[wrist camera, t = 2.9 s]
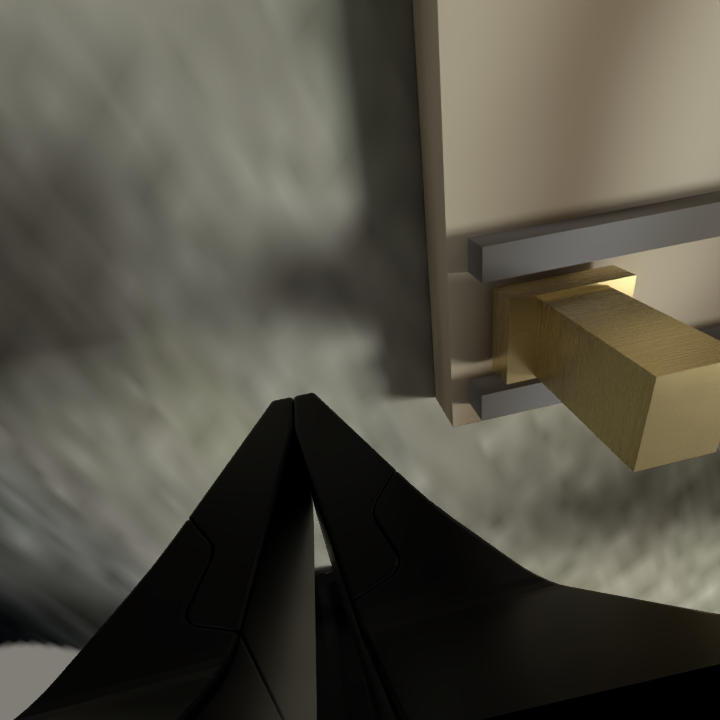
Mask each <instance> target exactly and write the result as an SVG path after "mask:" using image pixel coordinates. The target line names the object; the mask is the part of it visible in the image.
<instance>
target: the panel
mask: <svg viewBox="0 0 720 720" xmlns="http://www.w3.org/2000/svg"><path fill="white" fill-rule="evenodd" d="M412 1H413V18H414V35H415V52H416V69H417V86H418V102H419V119H420V136H421V153H422V170H423V187H424V204H425V221H426V237H427V254H428V271H429V288H430V305H431V322H432V339H433V355H434V372H435V389H436V399H437V401H438V402H439V404H440V406H441V407H442V409H443V411H444V413H445V414H446V416H447V418H448V419H449V421H450V423H451V424H452V426H453V427H457V426H461V425H465V424H470V423H474V422H479V421H483V420H488V419H492V418H496V417H501V416H505V415H510V414H514V413H519V412H523V411H527V410H532V409H536V408H541V407H545V406H549V405H554V404H558V403H562V402H561V401H560V400H559V399H558V398H557V397H556V396H555V395H554V394H553V393H552V392H551V391H550V390H549V389H548V388H547V387H546V386H545V385H544V384H543V383H542V382H541V381H540V380H539V379H538V378H534V379H530V380H525V381H520V382H516V383H511V384H506V383H505V382H504V381H503V380H502V379H501V378H500V377H499V375H498V374H497V373H496V372H495V371H494V370H493V369H492V357H493V301H494V288H499V287H504V286H509V285H514V284H519V283H524V282H529V281H534V280H539V279H544V278H549V277H554V276H559V275H564V274H569V273H574V272H579V271H584V270H589V269H594V268H599V267H604V266H609V265H614V266H617V267H619V268H621V269H624V270H626V271H628V272H631V273H633V274H635V275H637V276H636V281H635V287H634V292H633V297H632V298H634V299H636V300H638V301H640V302H642V303H644V304H646V305H648V306H650V307H652V308H654V309H656V310H658V311H660V312H662V313H665V314H667V315H669V316H671V317H673V318H675V319H677V320H679V321H681V322H683V323H685V324H687V325H689V326H691V327H693V328H695V329H697V330H699V331H701V332H703V333H705V334H707V335H709V336H711V337H713V338H715V339H717V340H719V341H720V0H412Z"/></svg>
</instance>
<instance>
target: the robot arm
mask: <svg viewBox="0 0 720 720" xmlns="http://www.w3.org/2000/svg"><path fill="white" fill-rule="evenodd" d="M312 499H313V500H312ZM313 502H314V506H315V510H316V514H317V517H318V521H319V524H320V527H321V531H322V534H323V538H324V541H325V544H326V548H327V551H328V555H329V558H330V561H331V565H332V568H333V572H331V573H327V574H323V575H319V576H315V573H314V515H313ZM14 720H720V614H716V613H709V612H703V611H698V610H693V609H687V608H682V607H677V606H671V605H666V604H660V603H655V602H650V601H644V600H639V599H633V598H628V597H623V596H617V595H612V594H607V593H601V592H596V591H590V590H585V589H580V588H574V587H569V586H564V585H560V584H557V583H554V582H551V581H549V580H546V579H544V578H542V577H540V576H538V575H536V574H534V573H532V572H530V571H529V570H527V569H525V568H523V567H522V566H520V565H519V564H517V563H516V562H514V561H513V560H512V559H510V558H509V557H507V556H506V555H505V554H503V553H502V552H500V551H499V550H497V549H496V548H495V547H493V546H492V545H490V544H489V543H488V542H486V541H485V540H483V539H482V538H481V537H479V536H478V535H476V534H475V533H474V532H472V531H471V530H469V529H468V528H466V527H465V526H464V525H462V524H461V523H459V522H458V521H457V520H455V519H454V518H452V517H451V516H450V515H448V514H447V513H446V512H444V511H443V510H442V509H440V508H439V507H438V506H436V505H435V504H434V503H432V502H431V501H430V500H428V499H427V498H426V497H425V496H424V495H423V494H422V493H420V492H419V491H418V490H417V489H416V488H415V487H414V486H412V485H411V484H410V483H409V482H408V481H407V480H406V479H405V478H404V477H403V476H402V475H401V474H400V473H398V472H396V470H395V469H394V468H393V467H392V466H391V465H390V464H389V463H388V462H387V461H386V460H384V459H383V458H382V457H381V456H380V455H379V454H378V453H377V452H376V451H375V450H374V449H373V448H372V447H371V446H370V445H369V444H368V443H366V442H365V441H364V440H363V439H362V438H361V437H360V436H359V435H358V434H357V433H356V432H355V431H354V430H353V429H352V428H351V427H350V426H348V425H347V424H346V423H345V422H344V421H343V420H342V419H341V418H340V417H339V416H338V415H337V414H336V413H335V412H334V411H333V410H331V409H330V408H329V407H328V406H327V405H326V404H325V403H324V402H323V401H322V400H321V399H320V398H319V397H318V396H317V395H316V394H314V393H308V394H303V395H299V396H296V397H295V398H294V400H293V398H285V399H280V400H275V401H273V402H272V403H271V404H270V405H269V407H268V408H267V410H266V411H265V412H264V414H263V415H262V417H261V418H260V419H259V421H258V422H257V424H256V425H255V426H254V428H253V429H252V430H251V432H250V433H249V435H248V436H247V437H246V439H245V440H244V442H243V443H242V444H241V446H240V447H239V449H238V450H237V451H236V453H235V454H234V456H233V457H232V458H231V460H230V461H229V463H228V464H227V465H226V467H225V468H224V470H223V471H222V472H221V474H220V475H219V477H218V478H217V479H216V481H215V482H214V483H213V485H212V486H211V488H210V489H209V490H208V492H207V493H206V495H205V496H204V497H203V499H202V500H201V502H200V503H199V504H198V506H197V507H196V509H195V510H194V511H193V513H192V514H191V516H190V517H189V520H187V521H186V522H185V524H184V525H183V526H182V528H181V529H180V531H179V532H178V533H177V535H176V536H175V538H174V539H173V540H172V542H171V543H170V544H169V546H168V547H167V548H166V549H165V551H164V552H163V553H162V555H161V556H160V557H159V559H158V560H157V561H156V563H155V564H154V565H153V566H152V568H151V569H150V570H149V571H148V572H147V574H146V575H145V576H144V577H143V579H142V580H141V581H140V582H139V583H138V585H137V586H136V587H135V588H134V589H133V591H132V592H131V593H130V594H129V595H128V597H127V598H126V599H125V600H124V601H123V602H122V604H121V605H120V606H119V607H118V608H117V609H116V611H115V612H114V613H113V614H112V615H111V616H110V617H109V619H108V620H107V621H106V622H105V623H104V624H103V626H102V627H101V628H100V629H99V630H98V631H97V633H96V634H95V635H94V636H93V637H92V638H91V639H90V641H89V642H88V643H87V644H86V645H85V646H84V648H83V649H82V650H81V651H80V652H79V653H78V655H77V656H76V657H75V658H74V659H73V660H72V662H71V663H70V664H69V665H68V666H67V667H66V668H65V670H64V671H63V672H62V673H61V674H60V676H59V677H58V678H57V679H56V680H55V681H54V682H53V683H52V684H51V685H50V687H49V688H48V689H47V690H46V691H45V692H44V693H43V694H42V695H41V696H40V697H39V698H38V699H37V700H36V701H35V702H34V703H33V704H31V705H30V706H29V707H28V708H27V709H26V710H25V711H24V712H22V713H21V714H20V715H19V716H18V717H16V718H15V719H14Z"/></svg>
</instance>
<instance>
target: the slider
mask: <svg viewBox="0 0 720 720" xmlns="http://www.w3.org/2000/svg"><path fill="white" fill-rule="evenodd" d="M636 276H637V275H635V274H633V273H631V272H628V271H626V270H624V269H621V268H619V267H617V266H614V265H609V266H604V267H599V268H594V269H589V270H584V271H579V272H574V273H569V274H564V275H559V276H554V277H549V278H544V279H539V280H534V281H529V282H524V283H519V284H514V285H509V286H504V287H499V288H494V301H493V357H492V369H493V370H494V371H495V372H496V373H497V374H498V375H499V377H500V378H501V379H502V380H503V381H504V382H505V383H506V384H511V383H516V382H520V381H525V380H530V379H534V378H538V379H539V380H540V381H541V382H542V383H543V384H544V385H545V386H546V387H547V388H548V389H549V390H550V391H551V392H552V393H553V394H554V395H555V396H556V397H557V398H558V399H559V400H560V401H561V402H562V403H563V404H564V405H565V406H566V407H567V408H568V409H569V410H570V411H571V412H573V413H574V414H575V415H576V416H577V417H578V418H579V419H580V420H581V421H582V422H583V423H584V424H585V425H586V426H587V427H588V428H589V429H590V430H591V431H592V432H593V433H594V434H595V435H596V436H597V437H598V438H599V439H600V440H601V441H602V442H603V443H604V444H605V445H606V446H607V447H609V448H610V449H611V450H612V451H613V452H614V453H615V454H616V455H617V456H618V457H619V458H620V459H621V460H622V461H623V462H624V463H625V464H626V465H627V466H628V467H629V468H630V469H631V470H632V471H633V472H637V471H641V470H645V469H649V468H653V467H657V466H661V465H665V464H669V463H673V462H677V461H682V460H686V459H690V458H694V457H698V456H702V455H706V454H710V453H714V452H716V451H717V448H718V445H719V443H720V341H719V340H717V339H715V338H713V337H711V336H709V335H707V334H705V333H703V332H701V331H699V330H697V329H695V328H693V327H691V326H689V325H687V324H685V323H683V322H681V321H679V320H677V319H675V318H673V317H671V316H669V315H667V314H665V313H662V312H660V311H658V310H656V309H654V308H652V307H650V306H648V305H646V304H644V303H642V302H640V301H638V300H636V299H634V298H632V297H633V292H634V287H635V281H636Z"/></svg>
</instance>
